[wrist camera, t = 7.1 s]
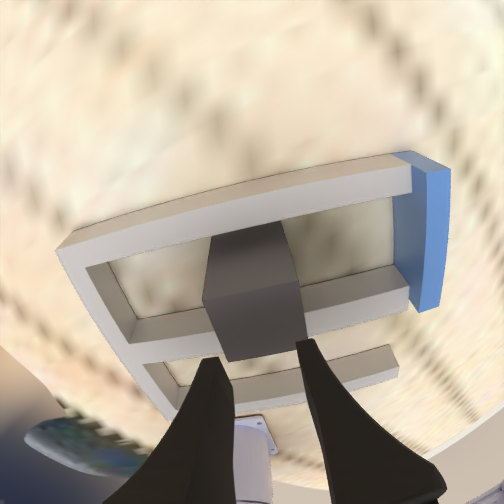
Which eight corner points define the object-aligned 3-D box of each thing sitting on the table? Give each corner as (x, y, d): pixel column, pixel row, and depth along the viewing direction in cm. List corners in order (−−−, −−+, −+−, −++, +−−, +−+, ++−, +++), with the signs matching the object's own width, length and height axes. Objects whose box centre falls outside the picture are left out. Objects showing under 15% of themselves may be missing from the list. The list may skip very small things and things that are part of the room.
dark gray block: (291, 277, 20) (309, 346, 14) (229, 290, 20) (228, 362, 15) (280, 220, 18) (298, 280, 12) (211, 235, 18) (201, 300, 13)
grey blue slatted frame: (402, 350, 24) (419, 385, 20) (170, 397, 25) (164, 434, 22) (411, 150, 16) (450, 169, 12) (72, 231, 17) (42, 264, 14)
